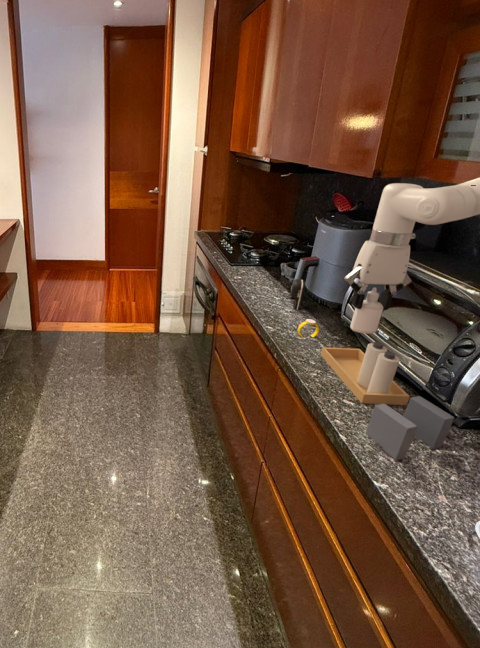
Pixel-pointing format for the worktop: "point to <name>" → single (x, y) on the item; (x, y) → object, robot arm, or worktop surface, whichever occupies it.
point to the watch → (311, 322)
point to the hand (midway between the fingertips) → (369, 306)
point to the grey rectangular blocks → (408, 426)
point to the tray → (348, 370)
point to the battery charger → (297, 292)
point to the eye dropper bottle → (367, 314)
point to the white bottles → (377, 369)
